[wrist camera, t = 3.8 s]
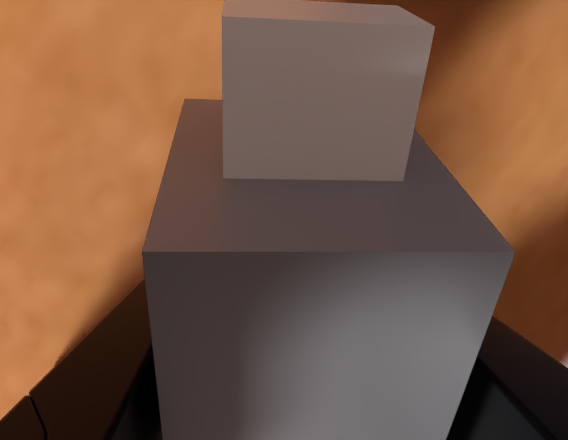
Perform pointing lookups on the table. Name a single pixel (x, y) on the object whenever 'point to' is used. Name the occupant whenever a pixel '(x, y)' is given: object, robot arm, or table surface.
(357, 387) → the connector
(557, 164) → the table surface
